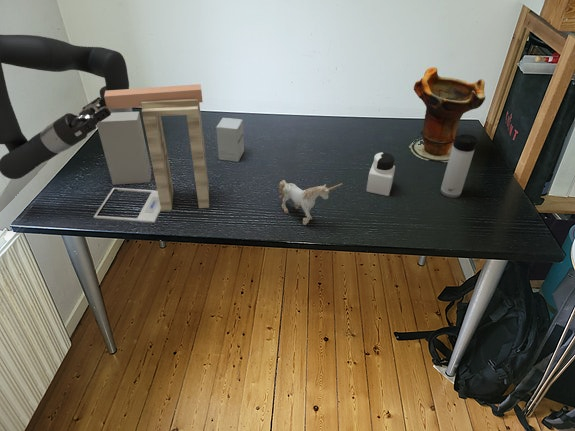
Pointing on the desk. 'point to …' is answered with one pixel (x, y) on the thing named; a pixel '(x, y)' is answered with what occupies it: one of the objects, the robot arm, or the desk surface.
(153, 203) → the photo frame
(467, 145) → the travel mug
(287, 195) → the unicorn figurine
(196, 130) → the bridge
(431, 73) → the decorative vase
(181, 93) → the bar
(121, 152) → the post
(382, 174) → the medicine bottle
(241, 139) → the supplement box
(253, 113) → the desk surface
